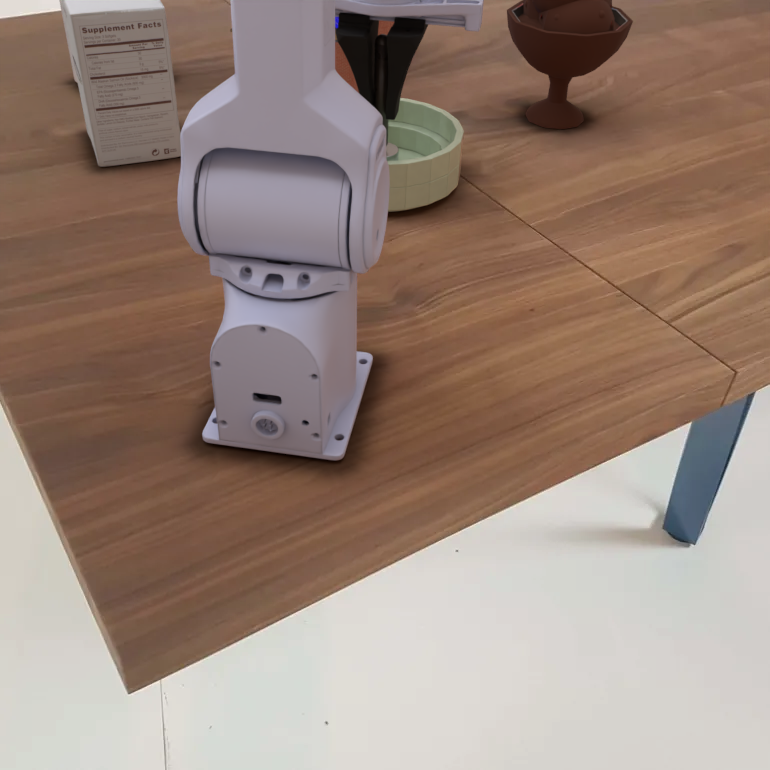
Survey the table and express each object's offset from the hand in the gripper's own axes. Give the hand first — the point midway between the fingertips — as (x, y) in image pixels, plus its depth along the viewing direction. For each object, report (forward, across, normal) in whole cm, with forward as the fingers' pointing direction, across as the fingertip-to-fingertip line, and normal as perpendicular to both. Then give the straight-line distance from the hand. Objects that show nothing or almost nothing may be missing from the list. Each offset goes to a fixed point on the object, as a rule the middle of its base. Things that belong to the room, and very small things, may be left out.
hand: (381, 113), depth 73 cm
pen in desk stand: (+4, 0, 0) cm, 4 cm away
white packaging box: (+6, +22, -1) cm, 23 cm away
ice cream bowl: (+6, -14, -16) cm, 22 cm away
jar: (+6, +29, -15) cm, 33 cm away
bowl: (+6, 0, 0) cm, 6 cm away
